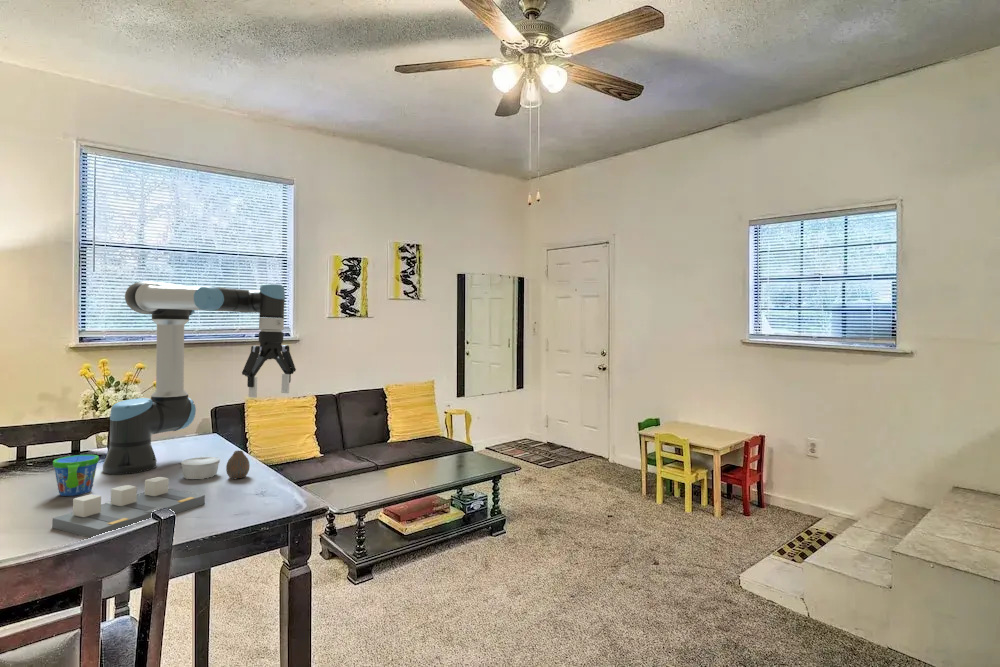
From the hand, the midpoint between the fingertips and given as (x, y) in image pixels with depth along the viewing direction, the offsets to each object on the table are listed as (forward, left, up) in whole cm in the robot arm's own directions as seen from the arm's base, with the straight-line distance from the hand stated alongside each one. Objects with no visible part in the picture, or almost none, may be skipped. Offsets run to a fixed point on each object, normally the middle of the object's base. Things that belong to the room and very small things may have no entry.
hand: (269, 395), depth 176 cm
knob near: (-8, -50, -25) cm, 57 cm away
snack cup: (-36, -36, -28) cm, 58 cm away
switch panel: (-4, -41, -28) cm, 50 cm away
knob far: (-8, -32, -25) cm, 42 cm away
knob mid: (-8, -41, -25) cm, 49 cm away
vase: (-8, -4, -28) cm, 29 cm away
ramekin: (-20, -8, -28) cm, 35 cm away
